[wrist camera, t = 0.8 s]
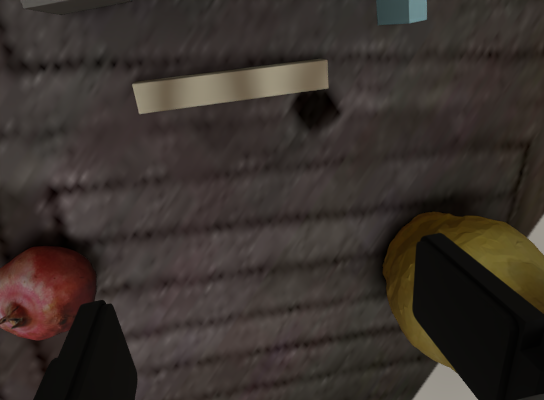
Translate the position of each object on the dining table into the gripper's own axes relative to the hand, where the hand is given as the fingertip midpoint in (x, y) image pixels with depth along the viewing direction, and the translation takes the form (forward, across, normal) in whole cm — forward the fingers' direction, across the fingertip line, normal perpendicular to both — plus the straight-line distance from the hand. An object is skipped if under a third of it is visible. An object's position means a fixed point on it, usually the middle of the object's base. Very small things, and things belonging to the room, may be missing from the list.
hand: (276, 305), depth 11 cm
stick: (+30, -2, -3) cm, 30 cm away
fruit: (+29, +20, +14) cm, 38 cm away
